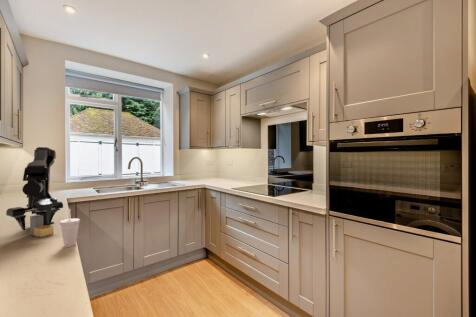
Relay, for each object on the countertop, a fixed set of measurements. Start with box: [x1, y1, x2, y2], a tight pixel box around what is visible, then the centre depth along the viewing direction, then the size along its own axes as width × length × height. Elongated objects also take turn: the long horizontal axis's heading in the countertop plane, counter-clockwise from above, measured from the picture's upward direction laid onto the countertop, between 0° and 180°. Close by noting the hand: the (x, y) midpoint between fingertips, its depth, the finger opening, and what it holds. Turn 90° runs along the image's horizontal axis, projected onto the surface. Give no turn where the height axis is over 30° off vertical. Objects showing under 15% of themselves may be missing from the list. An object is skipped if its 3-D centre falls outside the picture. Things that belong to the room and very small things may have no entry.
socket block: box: [33, 225, 54, 239], centre depth 100 cm, size 5×5×4 cm
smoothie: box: [59, 208, 81, 248], centre depth 89 cm, size 6×6×14 cm
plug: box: [29, 214, 43, 236], centre depth 103 cm, size 4×3×8 cm
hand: (36, 227), depth 103 cm, fingers open, 9 cm apart
